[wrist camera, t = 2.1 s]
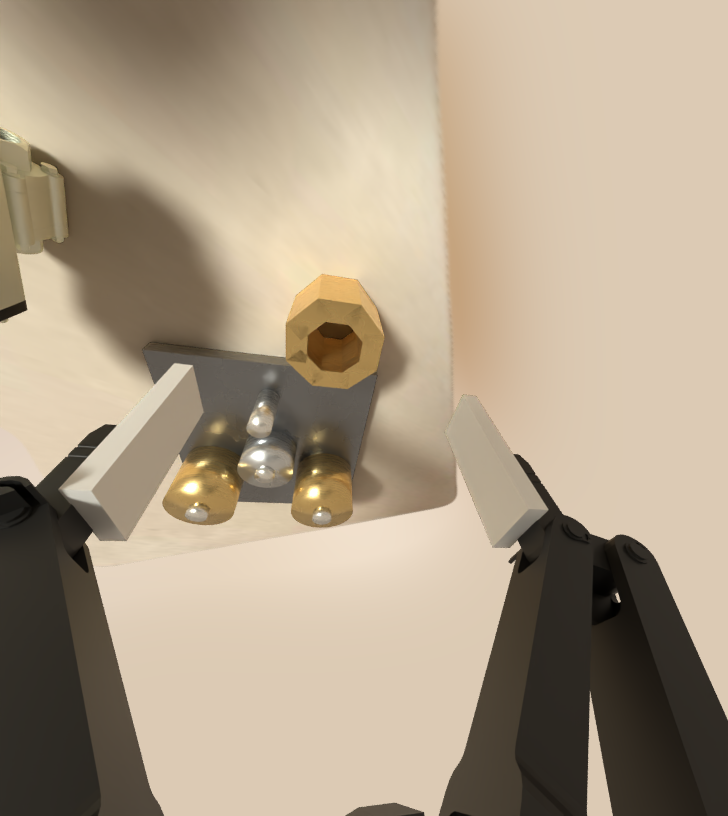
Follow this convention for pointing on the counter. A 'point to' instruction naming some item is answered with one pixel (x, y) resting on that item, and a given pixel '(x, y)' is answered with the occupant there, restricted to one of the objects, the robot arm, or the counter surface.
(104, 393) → the counter surface
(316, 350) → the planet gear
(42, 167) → the pneumatic valve
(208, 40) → the counter surface
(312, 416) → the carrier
